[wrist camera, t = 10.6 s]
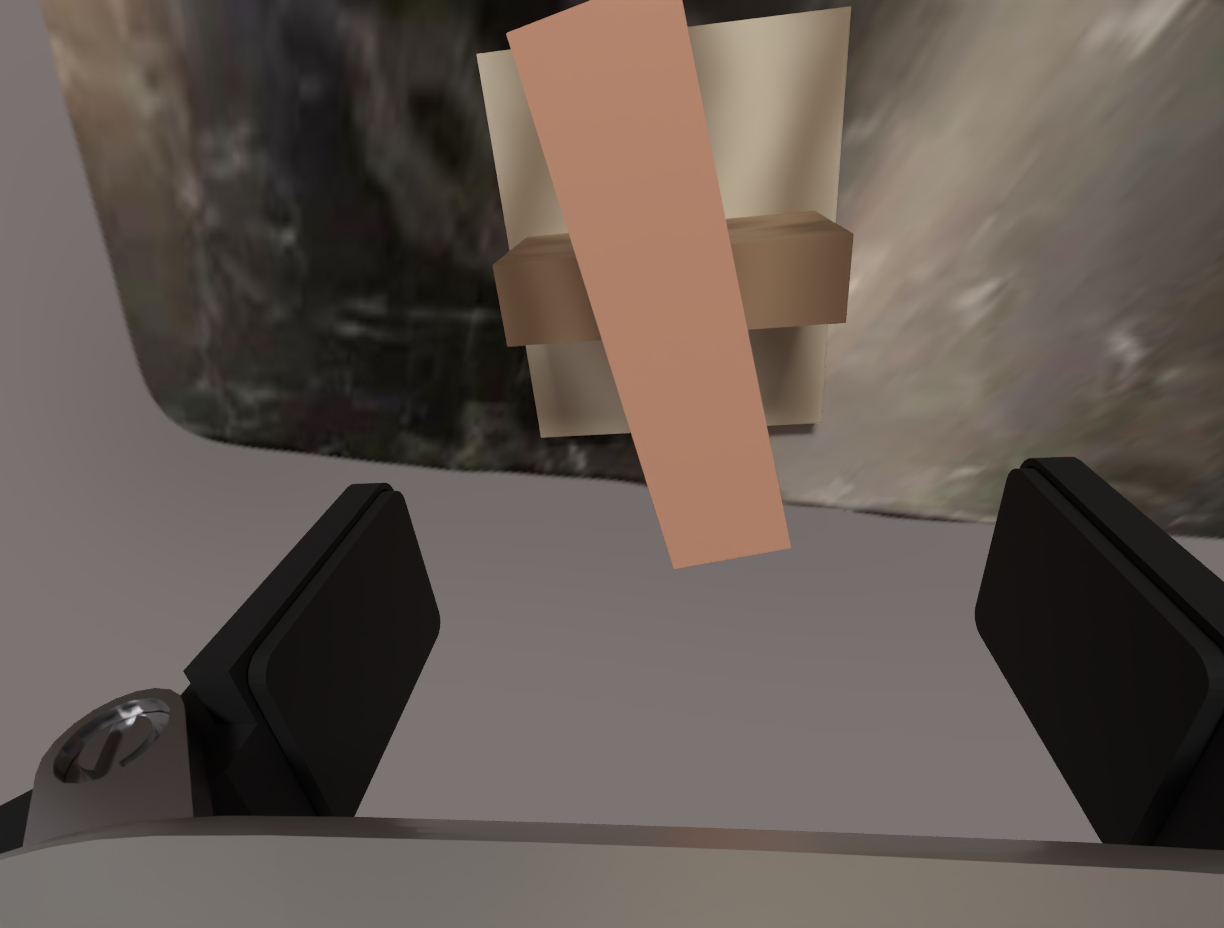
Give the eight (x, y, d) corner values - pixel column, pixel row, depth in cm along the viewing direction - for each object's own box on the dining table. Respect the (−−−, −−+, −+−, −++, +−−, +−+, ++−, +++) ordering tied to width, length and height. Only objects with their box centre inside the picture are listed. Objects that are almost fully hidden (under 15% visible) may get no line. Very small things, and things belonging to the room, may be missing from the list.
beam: (673, 7, 20) (675, -33, 15) (768, 469, 28) (791, 547, 23) (545, 55, 21) (506, 33, 16) (672, 489, 29) (673, 569, 24)
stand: (843, 11, 27) (909, -31, 19) (816, 414, 36) (854, 487, 28) (483, 56, 28) (421, 34, 21) (544, 428, 37) (515, 501, 30)
